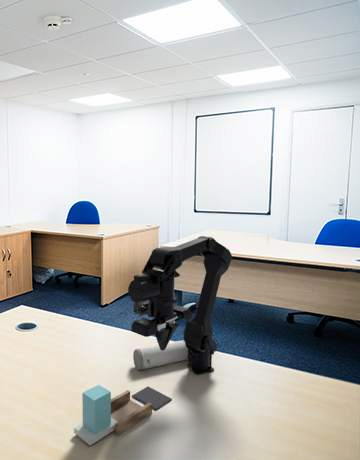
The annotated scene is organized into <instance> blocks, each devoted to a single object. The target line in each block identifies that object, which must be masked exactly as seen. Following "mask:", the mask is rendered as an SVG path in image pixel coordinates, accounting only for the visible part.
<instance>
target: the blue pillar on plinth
mask: <svg viewBox="0 0 360 460" xmlns="http://www.w3.org/2000/svg"><path fill="white" fill-rule="evenodd" d="M111 399H112V392H111V390H108V389H107V388H105V387H103V386H102V385H100V384H97V385H95V386H93V387H91V388H89V389H86V390H85V391H83V392H82V423H80V424H79V425H77V426H76V427H74V428H73V433H74V434H75V435H76V436H77V437H79V438H80V439H81V440H83V442H85V443H86V444H87V445H89V446H92V445H93V444H95V443H96V442H99V441H100V440H101V439H103V438H104V437H106V436H107V435H109V434H111V433H113V432H112V431H114V430H115V423H117V422H118V421H116V420H115V419H113V418H112V417H111Z"/></svg>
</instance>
